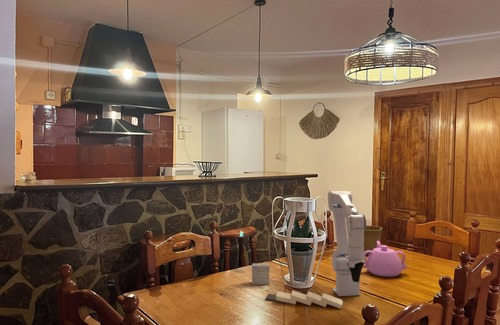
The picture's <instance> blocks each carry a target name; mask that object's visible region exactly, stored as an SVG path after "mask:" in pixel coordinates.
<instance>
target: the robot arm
mask: <svg viewBox="0 0 500 325" xmlns="http://www.w3.org/2000/svg"><path fill="white" fill-rule="evenodd" d="M352 203H353V194H352V192H351V190H329V191H328V193H327V205H328V206H327V207H328V210H329V211H330V212H332V214H333V219H334V220H333V221H334V227H335V236H336V237H335V238H336V245H337V249H335V250H334V251H333V252H332V254H331V268H332V271H334V272H335V288H334V287H333V288H332V291H333V292H334V293H336V295H337V296H339V297H348V296H349V297H352V296H361V292H360V289H361V287H360V283H361V281H360V279H361V274H362V270H363V269H364V268H363V266H365V264H364V262H365V261H364V230H365V229H366V226H367V218H366V215H365V214H362V213H360V212H359V209H358V208H357V207H356V205H354V204H352ZM363 229H364V230H363Z"/></svg>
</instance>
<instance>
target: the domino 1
mask: <svg viewBox="0 0 500 325" xmlns="http://www.w3.org/2000/svg"><path fill="white" fill-rule="evenodd" d="M264 301H265V302H266V301H269V302H276V303H286V302H282V301H278V300H276V294H272V293H268V294H267V295H266V297H265V299H264Z"/></svg>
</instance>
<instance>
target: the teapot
mask: <svg viewBox="0 0 500 325" xmlns="http://www.w3.org/2000/svg"><path fill="white" fill-rule="evenodd" d="M388 247H389V246H387V245H385V244H384V245H383V244H381V240H380V241H377V248H375V249H373V250H372V251H370V250H367V251H365V252H364V261H363V262H364V266H363V268H362V269H367V271H369V273H370V274H372V275H375V276H378V277H389V278H390V277H391V278H392V277H397V276H399V275H400V274H401V273H402V272H403V270H407V269H408V266H407V264H406V263H405V260H406V254H405V253H404V252H403V251H401V250H396V251H395V250H394V249H392V248H388ZM366 253H370V255H369V256H368V255H366ZM398 254H401V255H402V259H400V257H399V255H398ZM366 256H367V258H366Z"/></svg>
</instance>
